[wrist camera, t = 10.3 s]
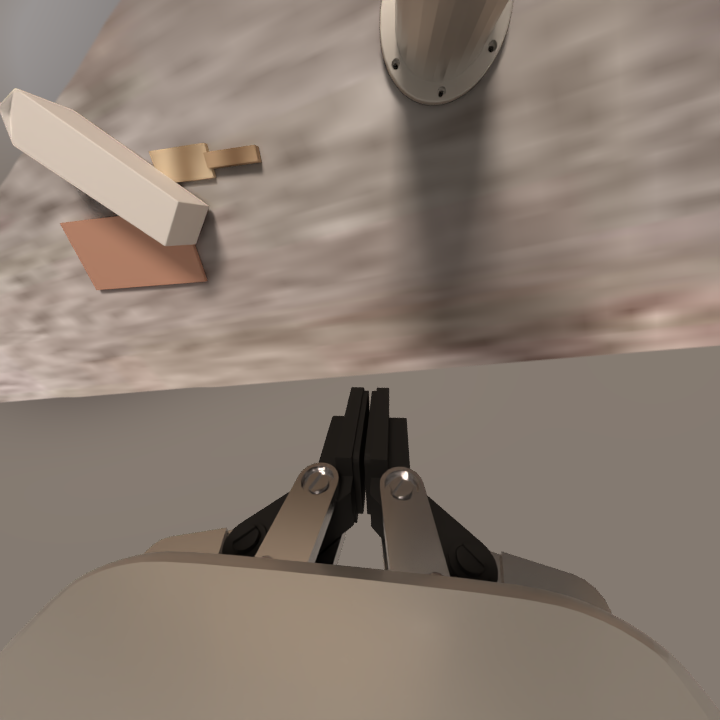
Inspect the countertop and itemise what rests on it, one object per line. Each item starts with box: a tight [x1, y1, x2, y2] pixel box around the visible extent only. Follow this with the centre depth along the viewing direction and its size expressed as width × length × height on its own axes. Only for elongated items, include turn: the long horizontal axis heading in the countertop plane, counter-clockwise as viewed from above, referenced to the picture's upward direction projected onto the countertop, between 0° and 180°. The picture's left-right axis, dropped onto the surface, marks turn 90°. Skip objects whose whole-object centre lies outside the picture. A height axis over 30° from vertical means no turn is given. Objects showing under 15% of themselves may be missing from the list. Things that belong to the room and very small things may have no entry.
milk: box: [0, 88, 209, 246], centre depth 34 cm, size 6×6×22 cm
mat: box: [60, 216, 208, 290], centre depth 41 cm, size 10×20×1 cm, turn 95°
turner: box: [149, 143, 261, 183], centre depth 35 cm, size 15×4×1 cm, turn 95°
